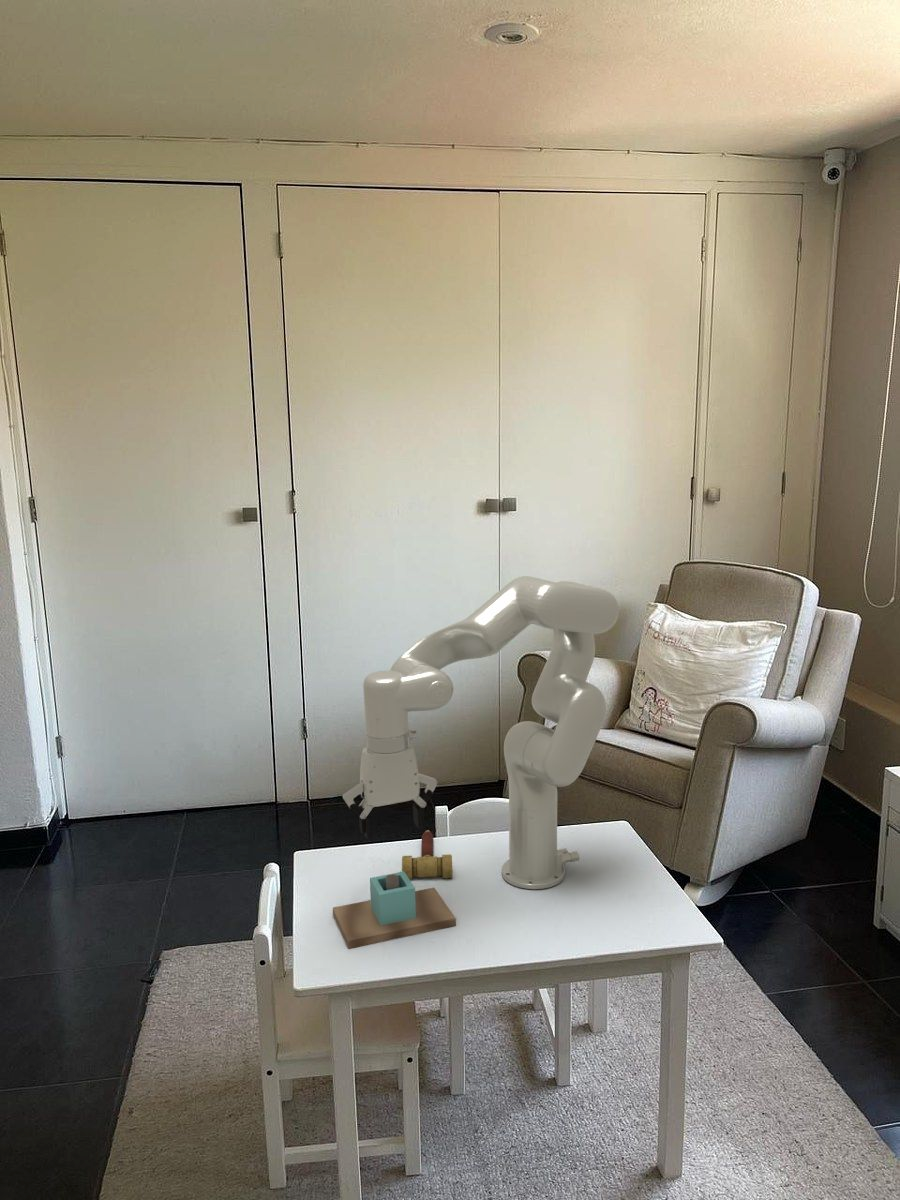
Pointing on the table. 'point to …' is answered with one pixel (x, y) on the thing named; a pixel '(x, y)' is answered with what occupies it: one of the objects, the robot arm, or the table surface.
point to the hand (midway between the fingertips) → (392, 830)
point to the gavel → (427, 861)
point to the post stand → (366, 929)
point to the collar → (392, 899)
